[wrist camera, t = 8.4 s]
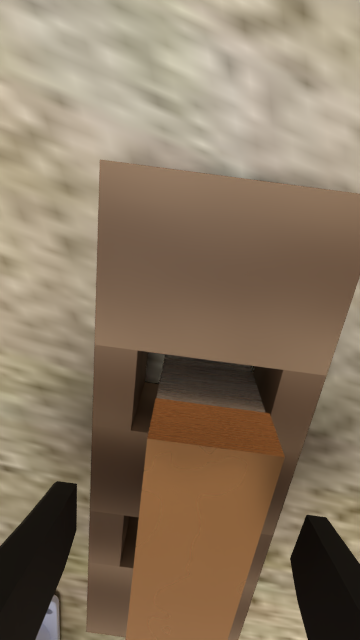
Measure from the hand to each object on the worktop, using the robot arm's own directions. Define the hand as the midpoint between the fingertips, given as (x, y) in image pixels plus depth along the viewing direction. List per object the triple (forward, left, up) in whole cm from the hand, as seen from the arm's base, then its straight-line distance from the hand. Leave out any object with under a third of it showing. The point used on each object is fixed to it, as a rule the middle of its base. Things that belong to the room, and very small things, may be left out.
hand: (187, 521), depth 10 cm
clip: (0, 0, -4) cm, 4 cm away
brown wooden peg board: (0, 0, -4) cm, 4 cm away
